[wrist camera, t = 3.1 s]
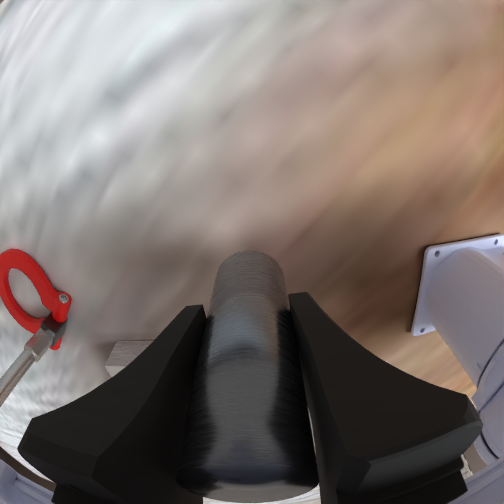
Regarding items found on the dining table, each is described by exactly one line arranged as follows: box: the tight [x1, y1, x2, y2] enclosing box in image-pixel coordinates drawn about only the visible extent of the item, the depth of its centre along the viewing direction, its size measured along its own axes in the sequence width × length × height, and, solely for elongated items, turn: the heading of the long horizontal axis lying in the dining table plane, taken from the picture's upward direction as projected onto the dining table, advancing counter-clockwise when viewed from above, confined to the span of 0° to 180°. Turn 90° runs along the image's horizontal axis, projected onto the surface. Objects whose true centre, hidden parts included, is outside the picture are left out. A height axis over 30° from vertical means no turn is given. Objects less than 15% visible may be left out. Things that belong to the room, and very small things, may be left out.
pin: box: [176, 251, 319, 503], centre depth 8 cm, size 3×3×9 cm
